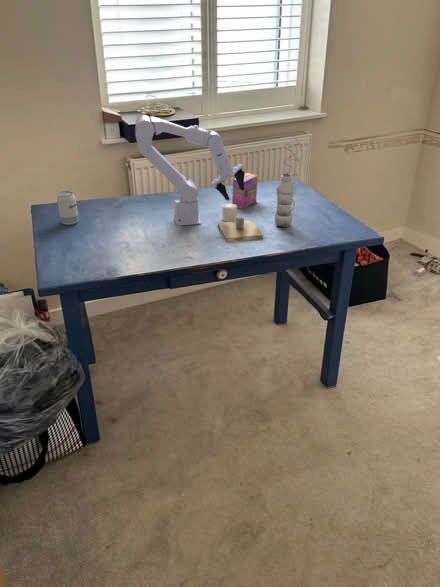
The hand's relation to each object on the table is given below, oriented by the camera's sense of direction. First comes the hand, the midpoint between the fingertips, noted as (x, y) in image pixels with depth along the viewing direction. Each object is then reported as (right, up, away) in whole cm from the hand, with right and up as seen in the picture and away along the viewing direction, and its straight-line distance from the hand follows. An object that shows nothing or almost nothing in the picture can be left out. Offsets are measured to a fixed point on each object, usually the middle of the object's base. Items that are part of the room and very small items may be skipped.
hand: (235, 194), depth 197 cm
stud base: (+2, -15, -6) cm, 17 cm away
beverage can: (-64, -11, 0) cm, 65 cm away
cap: (-2, -9, +5) cm, 10 cm away
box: (+5, 0, +19) cm, 20 cm away
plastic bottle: (+19, -12, 0) cm, 22 cm away
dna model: (+22, -5, +12) cm, 25 cm away
